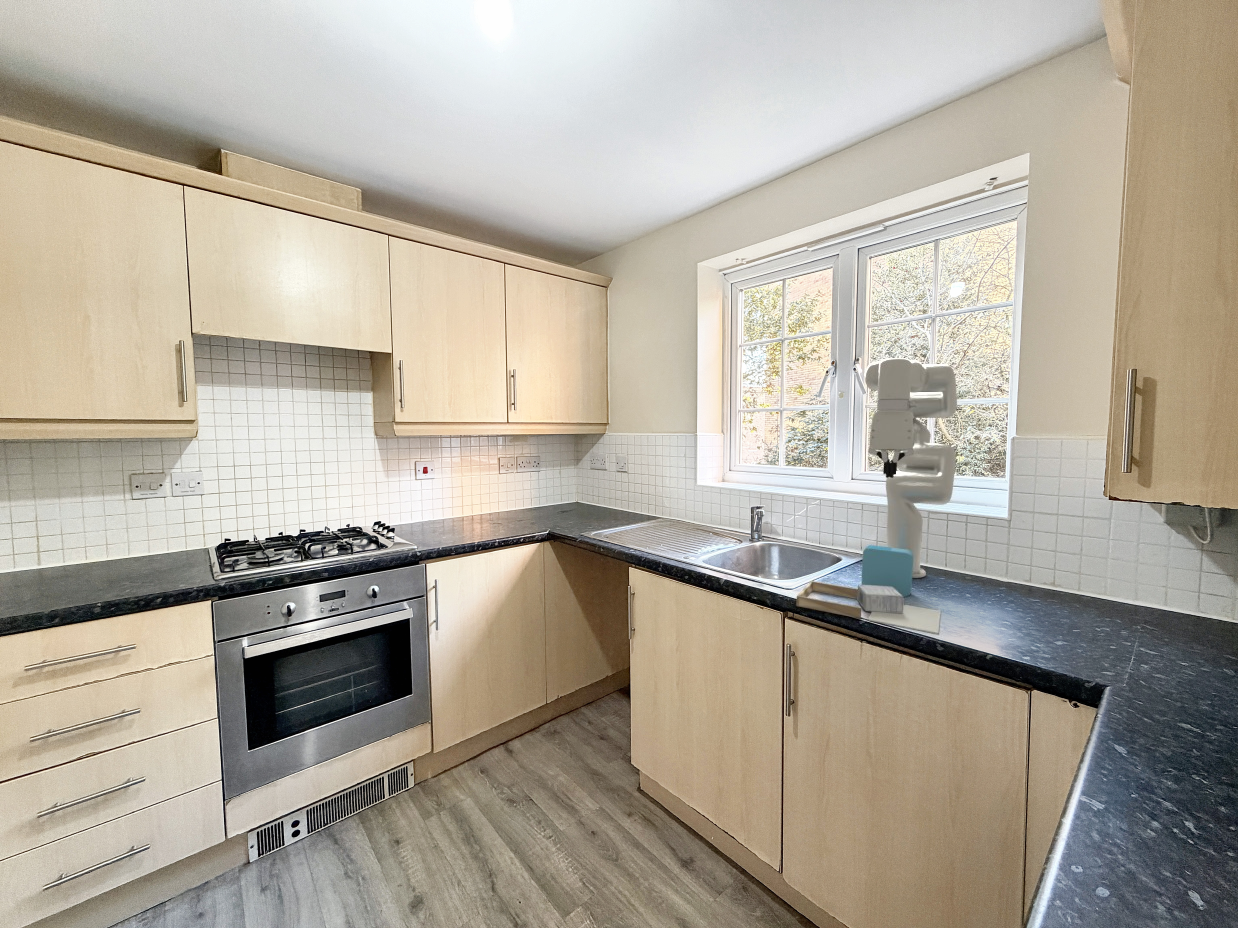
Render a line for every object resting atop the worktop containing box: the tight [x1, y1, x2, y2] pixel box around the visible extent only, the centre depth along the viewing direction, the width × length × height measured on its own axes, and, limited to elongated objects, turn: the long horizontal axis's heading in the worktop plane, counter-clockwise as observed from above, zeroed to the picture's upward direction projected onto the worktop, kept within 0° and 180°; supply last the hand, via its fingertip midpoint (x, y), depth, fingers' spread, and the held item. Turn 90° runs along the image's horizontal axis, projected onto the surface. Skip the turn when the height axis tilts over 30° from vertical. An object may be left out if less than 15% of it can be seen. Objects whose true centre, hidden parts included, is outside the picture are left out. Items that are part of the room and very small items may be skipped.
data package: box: [860, 544, 914, 598], centre depth 142 cm, size 12×4×12 cm, turn 57°
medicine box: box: [857, 584, 905, 613], centre depth 129 cm, size 8×4×9 cm
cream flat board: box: [867, 604, 941, 635], centre depth 124 cm, size 16×14×1 cm
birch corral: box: [795, 580, 863, 619], centre depth 133 cm, size 15×15×2 cm
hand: (889, 477), depth 136 cm, fingers closed
